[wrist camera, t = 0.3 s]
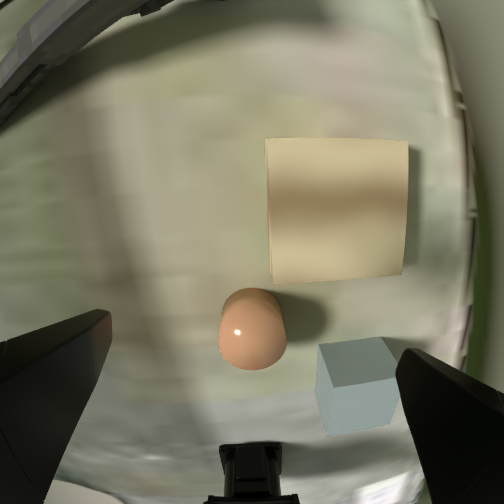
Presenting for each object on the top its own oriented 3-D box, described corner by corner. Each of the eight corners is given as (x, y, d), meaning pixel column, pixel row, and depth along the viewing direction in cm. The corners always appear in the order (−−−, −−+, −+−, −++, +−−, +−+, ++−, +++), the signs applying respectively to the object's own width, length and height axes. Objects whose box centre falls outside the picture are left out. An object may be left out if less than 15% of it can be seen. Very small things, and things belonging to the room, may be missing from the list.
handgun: (261, -2, 16) (209, -73, 7) (36, 135, 24) (-46, 156, 16) (242, -39, 15) (185, -112, 6) (27, 103, 23) (-53, 116, 14)
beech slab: (387, 262, 23) (401, 274, 20) (270, 270, 23) (272, 284, 20) (391, 141, 20) (408, 141, 18) (264, 139, 20) (267, 138, 18)
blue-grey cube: (370, 383, 27) (390, 424, 22) (314, 391, 27) (326, 436, 21) (379, 335, 25) (405, 375, 20) (318, 343, 25) (333, 387, 20)
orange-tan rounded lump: (280, 336, 25) (286, 367, 21) (224, 339, 25) (222, 371, 21) (280, 286, 23) (286, 312, 19) (219, 289, 23) (214, 316, 19)
